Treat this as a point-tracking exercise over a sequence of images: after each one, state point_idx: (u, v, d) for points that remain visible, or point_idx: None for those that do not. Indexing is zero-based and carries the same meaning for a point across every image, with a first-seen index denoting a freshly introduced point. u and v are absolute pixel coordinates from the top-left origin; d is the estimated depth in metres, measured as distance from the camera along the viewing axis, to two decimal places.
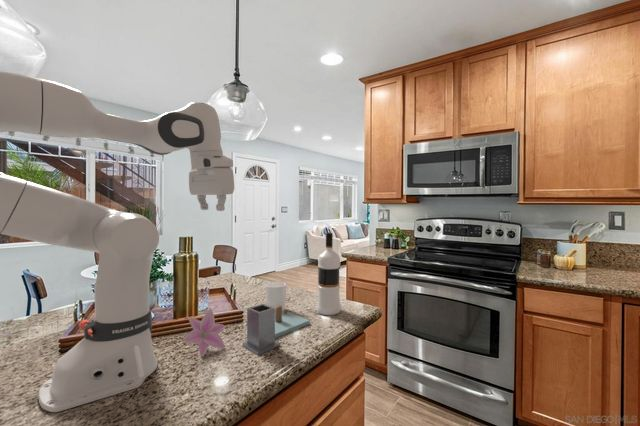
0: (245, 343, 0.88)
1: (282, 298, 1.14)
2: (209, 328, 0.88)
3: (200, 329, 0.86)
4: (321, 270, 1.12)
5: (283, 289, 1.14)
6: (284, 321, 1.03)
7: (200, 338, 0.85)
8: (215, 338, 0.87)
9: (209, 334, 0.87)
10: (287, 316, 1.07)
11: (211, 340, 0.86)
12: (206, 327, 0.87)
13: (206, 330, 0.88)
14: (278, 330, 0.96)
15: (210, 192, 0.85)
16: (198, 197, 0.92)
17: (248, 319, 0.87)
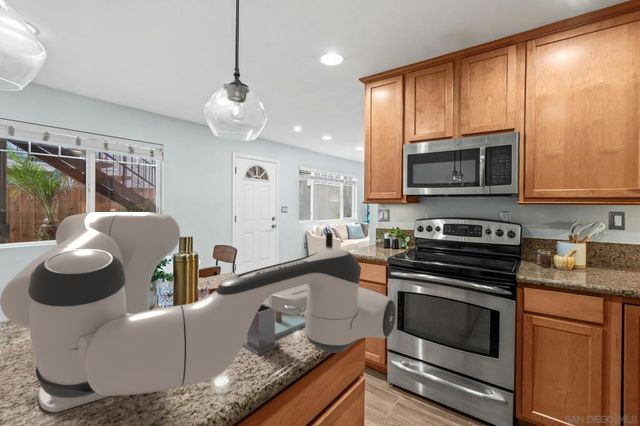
0: (245, 343, 0.88)
1: None
2: None
3: None
4: None
5: None
6: (284, 321, 1.03)
7: None
8: None
9: None
10: (287, 316, 1.07)
11: None
12: None
13: None
14: (278, 330, 0.96)
15: None
16: None
17: None
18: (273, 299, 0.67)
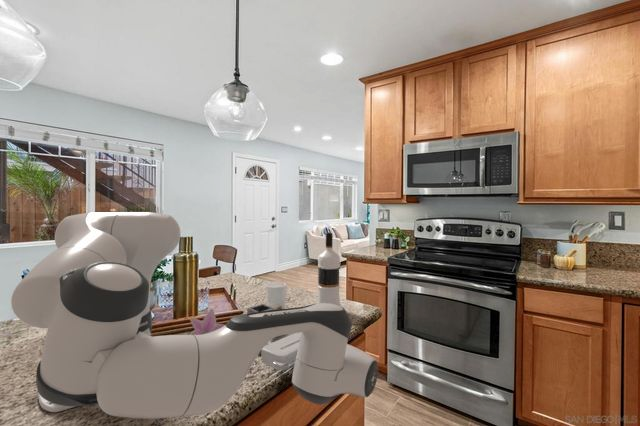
0: None
1: (282, 298, 1.14)
2: (210, 328, 0.88)
3: (201, 329, 0.86)
4: (321, 270, 1.12)
5: (283, 289, 1.14)
6: None
7: None
8: None
9: None
10: None
11: None
12: (207, 327, 0.87)
13: (207, 330, 0.88)
14: None
15: None
16: None
17: None
18: (263, 354, 0.71)
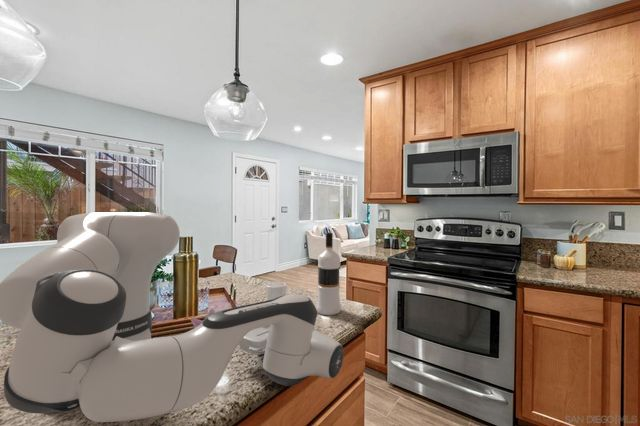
0: None
1: None
2: None
3: None
4: (321, 270, 1.12)
5: (283, 289, 1.14)
6: None
7: None
8: None
9: None
10: None
11: None
12: None
13: None
14: None
15: None
16: None
17: None
18: (240, 340, 0.77)
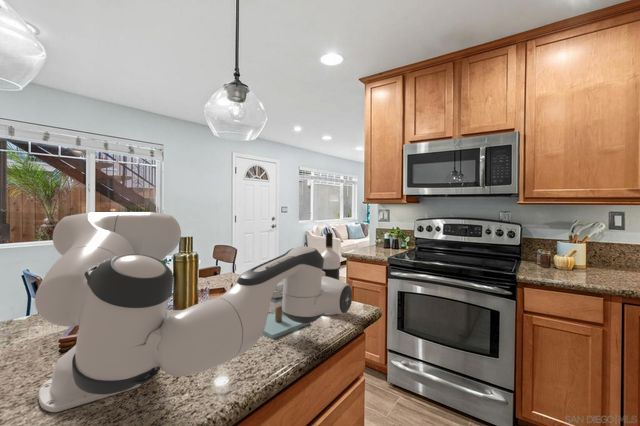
0: None
1: None
2: None
3: None
4: None
5: None
6: (284, 321, 1.03)
7: None
8: None
9: None
10: None
11: None
12: None
13: None
14: (278, 330, 0.96)
15: None
16: None
17: None
18: None
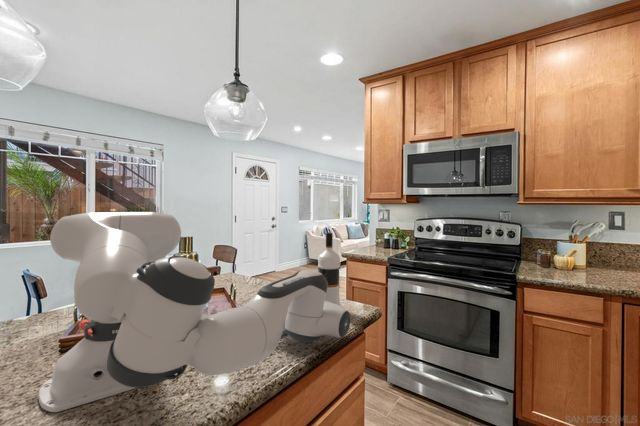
0: None
1: None
2: None
3: None
4: (321, 270, 1.12)
5: None
6: None
7: None
8: None
9: None
10: None
11: None
12: None
13: None
14: None
15: None
16: None
17: None
18: None
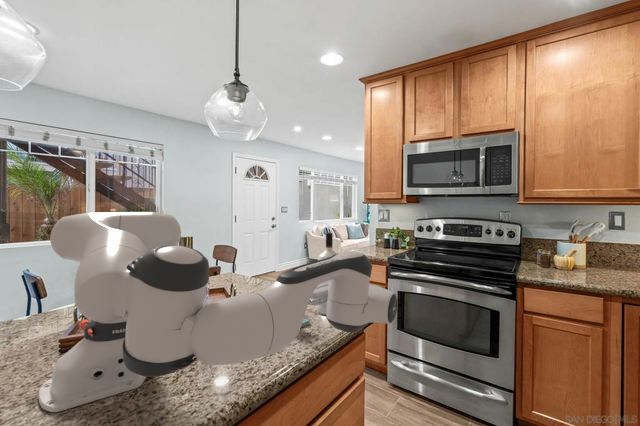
0: None
1: None
2: None
3: None
4: None
5: None
6: None
7: None
8: None
9: None
10: None
11: None
12: None
13: None
14: None
15: None
16: None
17: None
18: None
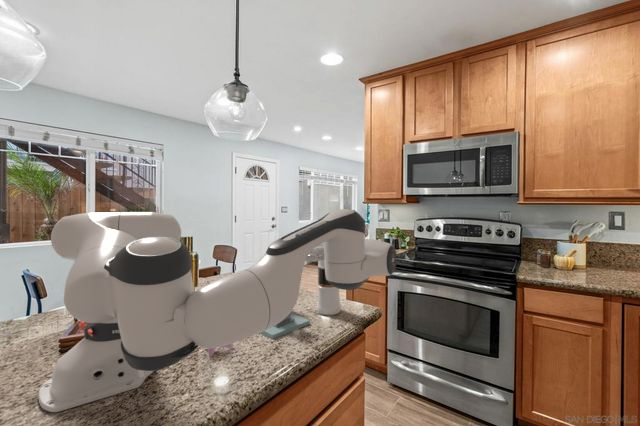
0: None
1: None
2: None
3: None
4: (321, 270, 1.12)
5: None
6: None
7: None
8: None
9: None
10: None
11: None
12: None
13: None
14: (278, 330, 0.96)
15: None
16: None
17: None
18: None
